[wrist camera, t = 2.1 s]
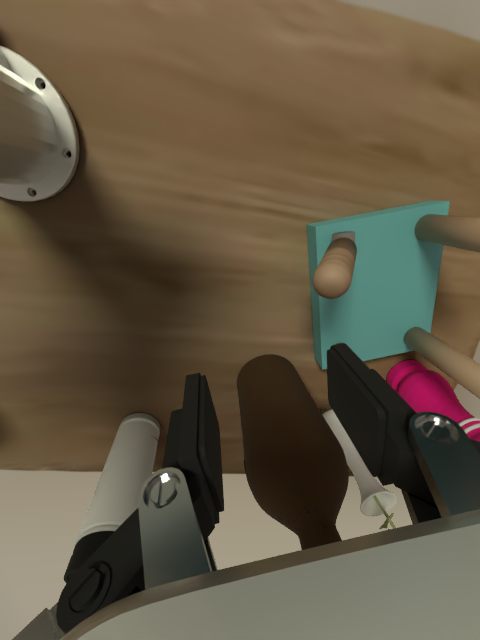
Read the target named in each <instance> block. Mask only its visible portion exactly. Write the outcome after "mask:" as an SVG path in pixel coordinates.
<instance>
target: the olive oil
mask: <svg viewBox="0 0 480 640" xmlns="http://www.w3.org/2000/svg"><path fill="white" fill-rule="evenodd" d="M237 388H238V396H239V405H240V415H241V425H242V436H243V447H244V465H245V471H246V476H247V481H248V484H249V487H250V489H251V491H252V493H253V495H254V497H255V499H256V501H257V503H258V504H259V505H260V507H261V508H262V509H263V510H264V511H265V512H266V513H267V514H268V515H270V516H271V517H272V518H274V519H275V520H277V521H278V522H280V523H281V524H283V525H285V526H286V527H287V528H289V529H290V530H291V531H293V532H294V533H296V534H297V535H298V537H299V539H300V544H301V548H302V550H305V549H309V548H313V547H318V546H322V545H326V544H330V543H335V542H339V541H342V540H341V538H340V535H339V533H338V531H337V529H336V526H335V523H336V519H337V515H338V513H339V510H340V508H341V505H342V502H343V499H344V497H345V494H346V491H347V486H348V478H349V476H348V467H347V462H346V457H345V454H344V451H343V449H342V446H341V444H340V443H339V441H338V439H337V438H336V436H335V434H334V433H333V431H332V430H331V428H330V426H329V425H328V423H327V422H326V420H325V418H324V417H323V415H322V414H321V412H320V410H319V409H318V407H317V405H316V404H315V402H314V400H313V399H312V397H311V396H310V394H309V392H308V391H307V389H306V387H305V386H304V384H303V382H302V380H301V379H300V377H299V375H298V373H297V372H296V370H295V368H294V367H293V365H292V364H291V363H290V362H289V361H288V360H287V359H285V358H283V357H281V356H278V355H263V356H259V357H256V358H254V359H252V360H251V361H249V362H248V363H247V364H245V365H244V367H243V368H242V369H241V371H240V373H239V375H238V379H237Z"/></svg>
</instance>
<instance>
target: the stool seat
mask: <svg viewBox="0 0 480 640" xmlns="http://www.w3.org/2000/svg"><path fill="white" fill-rule="evenodd" d="M449 204H450V201H426V202H421V203H416V204H411V205H406V206H400V207H395V208H390V209H385V210H380V211H374V212H369V213H364V214H359V215H353V216H348V217H343V218H338V219H333V220H327V221H322V222H317V223H312V224H307V235H308V252H309V269H310V286H311V303H312V319H313V336H314V353H315V360H316V361H317V363H318V364H319V366H320V367H321V369H322V370H324V369H327V350H329V349H330V347H331V345H336V344H341V343H345V344H346V345H347V346H348V347H349V348H350V349H351V350H352V351H353V352H354V353H355V354H356V355H357V356H358V357H359V358H360V359H361V360H362V361H367V360H372V359H376V358H381V357H386V356H391V355H395V354H400V353H405V352H410V351H416V352H417V353H418V354H420V355H421V356H422V357H424V358H425V359H426V360H428V361H429V362H431V363H432V364H433V365H435V366H436V367H437V368H439V369H440V370H441V371H443V372H444V373H445V374H447V375H448V376H449V377H451V378H452V379H453V380H455V381H456V382H458V383H459V384H460V385H462V386H463V387H464V388H466V389H467V390H468V391H470V392H471V393H472V394H474V395H475V396H476V397H478V398H479V399H480V364H479V363H477V362H476V361H474V360H473V359H471V358H469V357H468V356H466V355H464V354H463V353H461V352H459V351H458V350H456V349H455V348H453V347H451V346H450V345H448V344H446V343H445V342H443V341H442V340H440V339H438V338H437V337H435V336H433V335H432V334H430V331H431V325H432V318H433V311H434V304H435V298H436V291H437V284H438V278H439V271H440V264H441V257H442V251H443V245H446V246H451V247H456V248H461V249H466V250H471V251H476V252H480V218H474V217H461V216H449V215H448V210H449ZM344 231H354V232H355V244H356V247H357V255H356V260H355V265H354V271H353V276H352V281H351V285H350V287H349V289H348V291H347V292H346V293H345V294H344V295H342V296H340V297H338V298H335V299H327V298H324V297H321V296H320V295H318V294H317V293H316V291H315V290H314V287H313V284H312V278H313V274H314V272H315V270H316V268H317V266H318V265H319V263H320V261H321V259H322V257H323V256H324V254H325V252H326V250H327V248H328V246H329V245H330V243H331V242H332V234H334V233H338V232H344ZM364 364H365V363H364ZM365 365H366V364H365ZM366 366H367V365H366ZM367 367H368V366H367ZM368 368H369V367H368ZM369 369H370V368H369Z"/></svg>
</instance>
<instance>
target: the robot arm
mask: <svg viewBox="0 0 480 640" xmlns="http://www.w3.org/2000/svg"><path fill="white" fill-rule="evenodd" d="M44 84H46V87H45V89H43V85H44ZM79 150H80V147H79V137H78V131H77V128H76V124H75V120H74V118H73V116H72V113H71V111H70V109H69V106H68V104H67V103H66V101H65V100H64V98H63V96H62V95H61V93H60V91H59V90H58V89H57V88H56V86H55V85H54V84H53V83H52V82H51V80H50V79H49V78H48V77H47V76H46V75H45V74H44V73H43V72H41V71H40V70H39V69H38V68H37V67H36V66H35V65H33V64H32V63H31V62H29V61H28V60H26V59H25V58H24V57H23V56H21V55H19V54H17V53H15V52H14V51H12V50H10V49H8V48H6V47H3V46H0V197H2V198H5V199H9V200H15V201H39V200H44V199H47V198H50V197H53V196H55V195H56V194H58V193H59V192H61V191H62V190H63V189H64V188H65V187H66V186H67V185H68V184H69V183H70V181H71V179H72V177H73V176H74V174H75V172H76V168H77V165H78V161H79ZM69 152H71V157H69V155H68V153H69ZM35 190H36V193H37V195H36V194H35V192H34V191H35ZM327 378H328V400H329V404H330V406H331V408H332V409H333V411H334V413H335V415H336V416H337V418H338V420H339V421H340V423H341V425H342V426H343V428H344V430H345V431H346V433H347V435H348V436H349V438H350V440H351V441H352V443H353V445H354V446H355V448H356V450H357V452H358V453H359V455H360V457H361V458H362V460H363V462H364V463H365V465H366V467H367V468H368V470H369V472H370V473H371V475H372V476H373V477H376V476H377V477H378V478H379V480H380V482H381V483H382V485H383V486H384V485H389V484H393V483H394V485H395V486H396V487H398V488H400V489H401V490H402V494H403V496H404V499H405V502H406V505H407V508H408V511H409V514H410V517H411V520H412V523H413V525H408V526H404V527H400V528H395V529H391V530H386V531H382V532H378V533H374V534H369V535H365V536H361V537H356V538H352V539H348V540H343V541H339V542H335V543H330V544H326V545H322V546H318V547H313V548H309V549H305V550H301V551H296V552H292V553H288V554H284V555H280V556H276V557H271V558H267V559H263V560H259V561H255V562H250V563H246V564H242V565H238V566H234V567H230V568H225V569H222V570H217V566H216V563H215V559H214V556H213V553H212V550H211V546H210V542H209V539H208V536H209V535H210V534H211V532H212V531H213V529H214V528H215V524H217V523H219V512H221V511H224V498H223V482H222V464H221V448H220V431H219V424H218V420H217V416H216V412H215V409H214V405H213V401H212V398H211V394H210V390H209V387H208V383H207V379H206V376H205V375H204V376H201V375H200V373H197V374H192V375H187V376H186V383H185V392H184V401H183V409H180V410H175V411H172V413H171V418H170V424H169V430H168V437H167V443H166V449H165V456H164V462H163V468H162V469H160V470H158V471H156V472H155V473H153V474H152V475H151V476H150V477H149V478H147V479H146V481H145V482H144V484H143V485H142V486H141V489H140V491H139V494H138V508H137V509H136V510H135V511H134V512H133V513H132V514H131V515H130V516H129V517H128V518H127V519H126V520H125V521H124V522H123V523H122V524H121V525H120V526H119V528H118V529H117V530H116V531H115V532H114V533H113V534H112V535H111V536H110V537H109V538H108V539H107V540H106V541H105V542H104V543H103V544H102V545H101V546H100V547H99V548H98V549H97V550H96V551H95V552H94V553H93V554H92V555H91V556H90V557H89V558H88V559H87V560H86V561H85V563H84V564H83V565H82V566H81V567H80V568H79V569H78V570H77V571H76V572H75V573H74V574H73V576H72V577H71V578H70V579H69V580H68V582H67V584H66V586H65V587H64V589H63V591H62V593H61V595H60V599H59V602H58V603H57V604H56V605H54V606H53V607H52V608H51V609H50V610H48V609H47V608H45V609H44V610H43V611H42V612H41V613H40V614H39V615H38V616H37V617H36V618H35V619H34V620H32V621H31V622H30V623H29V624H28V625H27V626H26V627H25V628H24V629H23V630H22V631H21V632H20V633H19V634H18V635H17V636H16V637H14V638H13V639H12V640H480V442H479V441H476V440H472V439H469V437H468V436H467V434H466V433H465V431H464V430H463V429H462V427H461V426H460V425H459V424H458V423H457V422H455V421H454V420H452V419H451V418H449V417H447V416H445V415H442V414H439V413H435V412H427V411H426V412H419V413H416V412H415V411H414V410H413V409H412V408H411V406H410V405H409V404H408V403H407V402H406V401H405V400H404V399H403V398H402V397H401V396H400V395H399V394H398V393H397V392H396V391H395V390H394V389H393V388H392V387H391V386H390V385H389V384H388V383H387V382H386V381H385V380H384V379H383V378H382V377H381V376H380V375H379V374H378V373H377V372H376V371H375V370H374V369H369V368H368V367H367V366H366V365H365V364H364V362H363V361H362V360H361V359H360V358H359V357H358V356H357V355H356V354H355V353H354V352H353V351H352V350H351V349H350V348H349V347H348V346H347V345H346V344H345V343H341V344H336V345H331V347H330V349H329V350H327Z"/></svg>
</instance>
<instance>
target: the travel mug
mask: <svg viewBox="0 0 480 640" xmlns="http://www.w3.org/2000/svg"><path fill="white" fill-rule="evenodd" d="M159 434H160V424H159V422H158V421H157V419H155V418H154V417H153V416H151V415H148V414H145V413H135V414H131V415H129V416H127V417H125V418H124V419H123V420H122V422H121V423H120V426H119V429H118V431H117V434H116V437H115V439H114V442H113V445H112V448H111V450H110V453H109V456H108V458H107V461H106V464H105V466H104V469H103V472H102V474H101V477H100V480H99V482H98V485H97V488H96V490H95V493H94V496H93V498H92V501H91V504H90V506H89V509H88V512H87V515H86V517H85V520H84V522H83V525H82V528H81V531H80V533H79V537H78V539H77V542H76V544H75V548H74V551H73V555H72V556H71V559H70V562H69V564H68V567H67V570H66V572H65V575H64V581H65V582H66V583H67V582H68V580H69V579H70V578H71V577H72V576H73V574H74V573H75V572H76V571H77V570H78V569H79V568H80V567H81V566H82V565H83V564H84V563H85V561H86V560H87V559H88V558H89V557H90V556H91V555H92V554H93V553H94V552H95V551H96V550H97V549H98V548H99V547H100V546H101V545H102V544H103V543H104V542H105V541H106V540H107V539H108V538H109V537H110V536H111V535H112V534H113V533H114V532H115V531H116V530H117V529H118V528H119V526H120V525H121V524H122V523H123V522H124V521H125V520H126V519H127V518H128V517H129V516H130V515H131V514H132V513H133V512H134V511H135V510H136V509H137V508H138V494H139V491H140V489H141V486H142V485H143V484H144V482H145V481H146V479H147V478H149V477H150V476H151V475H152V471H153V466H154V460H155V455H156V450H157V445H158V440H159Z"/></svg>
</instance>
